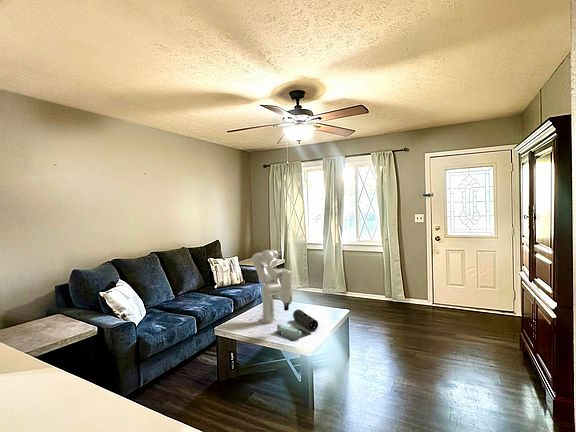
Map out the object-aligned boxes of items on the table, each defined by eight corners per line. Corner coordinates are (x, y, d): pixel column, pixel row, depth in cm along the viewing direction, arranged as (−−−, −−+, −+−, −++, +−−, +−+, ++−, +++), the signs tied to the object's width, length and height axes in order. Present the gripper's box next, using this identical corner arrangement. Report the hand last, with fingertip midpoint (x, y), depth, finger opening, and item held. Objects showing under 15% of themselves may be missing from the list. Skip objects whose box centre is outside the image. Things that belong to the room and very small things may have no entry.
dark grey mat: (273, 333, 239) (273, 331, 239) (293, 326, 252) (293, 325, 252) (291, 342, 222) (291, 340, 222) (312, 335, 235) (312, 333, 235)
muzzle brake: (307, 333, 238) (307, 320, 238) (292, 321, 264) (291, 309, 264) (318, 331, 242) (318, 318, 242) (302, 320, 268) (302, 308, 268)
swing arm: (276, 331, 238) (276, 325, 238) (279, 330, 241) (279, 324, 240) (299, 339, 225) (299, 332, 224) (302, 337, 227) (302, 330, 227)
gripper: (276, 285, 244) (276, 308, 244) (288, 289, 232) (288, 313, 233) (284, 284, 248) (284, 306, 249) (296, 287, 237) (296, 311, 237)
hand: (286, 310), depth 241 cm, fingers closed
